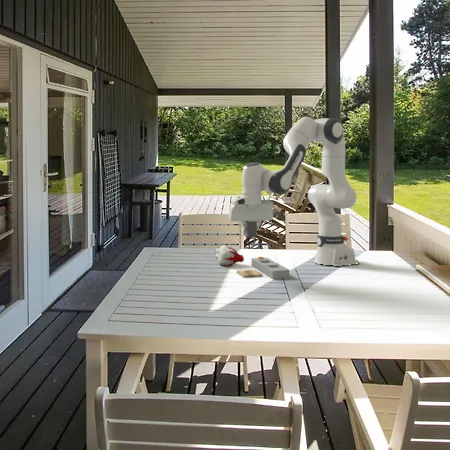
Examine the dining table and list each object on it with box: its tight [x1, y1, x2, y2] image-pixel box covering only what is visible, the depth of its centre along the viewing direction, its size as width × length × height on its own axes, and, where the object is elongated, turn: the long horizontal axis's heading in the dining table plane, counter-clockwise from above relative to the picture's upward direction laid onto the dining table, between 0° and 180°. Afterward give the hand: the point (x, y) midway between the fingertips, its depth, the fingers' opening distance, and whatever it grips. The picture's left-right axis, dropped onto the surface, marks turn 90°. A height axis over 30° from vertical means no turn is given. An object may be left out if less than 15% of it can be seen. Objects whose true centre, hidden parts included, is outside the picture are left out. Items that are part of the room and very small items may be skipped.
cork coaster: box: [236, 269, 263, 278], centre depth 244 cm, size 9×9×1 cm
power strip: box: [251, 256, 290, 280], centre depth 253 cm, size 8×32×4 cm, turn 18°
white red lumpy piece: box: [214, 244, 245, 267], centre depth 263 cm, size 9×11×15 cm
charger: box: [243, 220, 258, 238], centre depth 241 cm, size 4×4×7 cm
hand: (250, 230), depth 241 cm, fingers closed on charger, 4 cm apart
